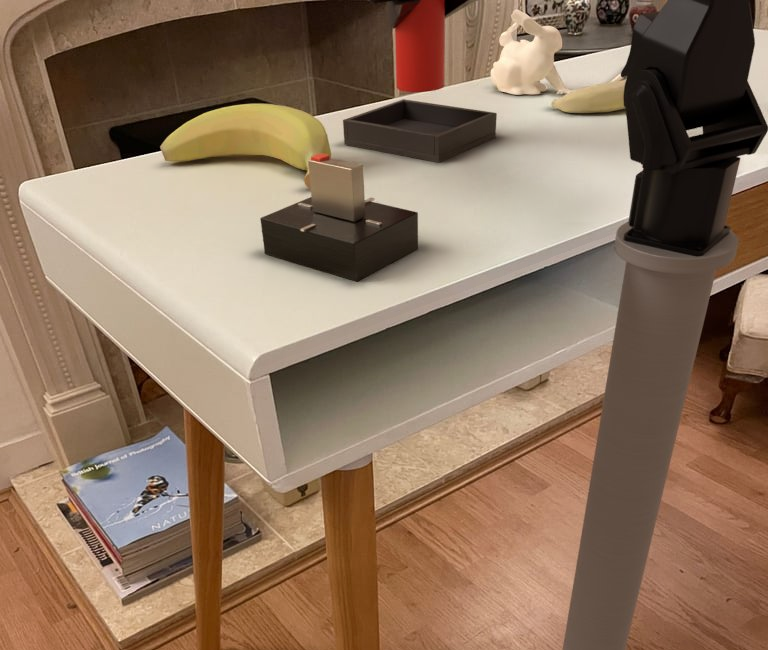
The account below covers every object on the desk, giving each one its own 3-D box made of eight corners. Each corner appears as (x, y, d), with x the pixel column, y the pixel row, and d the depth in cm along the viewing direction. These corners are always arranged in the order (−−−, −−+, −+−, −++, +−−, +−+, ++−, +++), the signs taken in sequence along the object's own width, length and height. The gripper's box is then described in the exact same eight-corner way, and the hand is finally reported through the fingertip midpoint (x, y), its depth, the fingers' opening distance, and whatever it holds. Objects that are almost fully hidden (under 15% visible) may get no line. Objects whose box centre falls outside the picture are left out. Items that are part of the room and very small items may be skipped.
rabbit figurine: (576, 93, 106) (585, 8, 100) (543, 104, 102) (550, 16, 96) (504, 82, 113) (508, 1, 106) (470, 92, 108) (472, 9, 102)
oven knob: (365, 217, 63) (363, 161, 61) (354, 222, 63) (351, 165, 60) (323, 206, 66) (319, 152, 63) (312, 211, 65) (307, 156, 62)
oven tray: (495, 137, 91) (496, 112, 89) (438, 162, 84) (439, 136, 83) (403, 122, 97) (403, 99, 96) (344, 144, 91) (342, 119, 89)
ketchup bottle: (453, 84, 87) (455, -74, 79) (425, 94, 84) (424, -70, 75) (415, 80, 90) (413, -74, 81) (387, 89, 87) (381, -70, 78)
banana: (252, 71, 88) (357, 129, 77) (266, 120, 92) (367, 181, 81) (146, 127, 85) (240, 196, 74) (166, 174, 89) (258, 246, 78)
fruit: (682, 103, 100) (687, 74, 98) (584, 121, 95) (588, 90, 93) (643, 93, 105) (647, 64, 103) (549, 109, 100) (551, 79, 98)
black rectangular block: (421, 247, 66) (420, 208, 64) (353, 283, 61) (351, 242, 59) (330, 223, 71) (328, 187, 69) (261, 255, 66) (256, 217, 64)
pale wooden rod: (635, 68, 117) (636, 63, 116) (603, 97, 104) (603, 91, 103) (630, 68, 117) (631, 62, 116) (596, 96, 104) (597, 90, 104)
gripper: (526, -194, 74) (456, -53, 88) (348, -191, 67) (304, -39, 81) (573, -87, 73) (495, 37, 88) (399, -73, 66) (346, 59, 81)
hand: (412, 21), depth 84 cm, fingers closed on ketchup bottle, 5 cm apart
